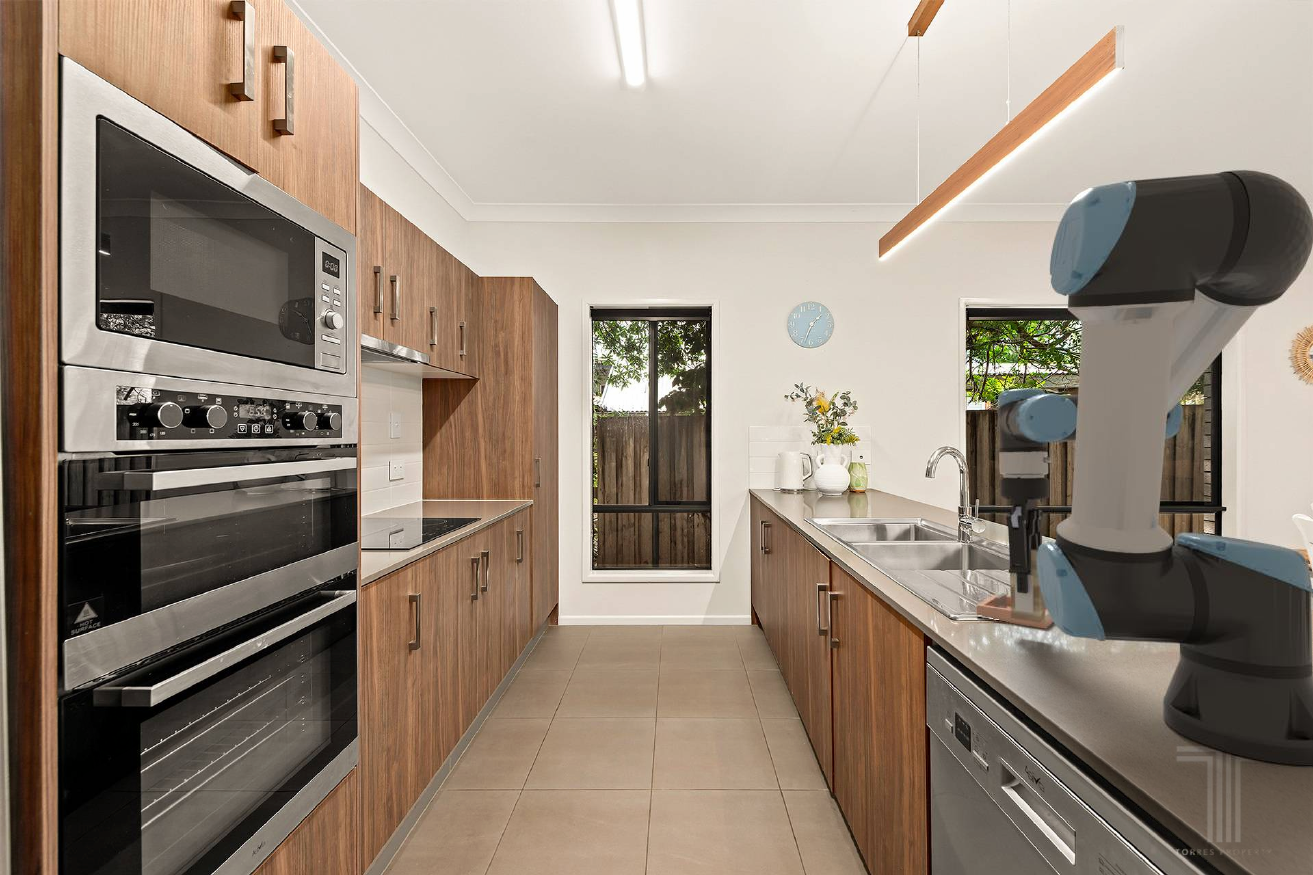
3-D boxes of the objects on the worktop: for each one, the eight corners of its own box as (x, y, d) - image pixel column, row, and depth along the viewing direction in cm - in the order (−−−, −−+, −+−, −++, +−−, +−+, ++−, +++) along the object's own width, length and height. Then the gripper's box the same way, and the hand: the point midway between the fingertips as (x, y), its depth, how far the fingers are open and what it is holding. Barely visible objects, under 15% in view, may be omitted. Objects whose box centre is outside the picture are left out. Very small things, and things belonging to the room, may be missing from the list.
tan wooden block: (1040, 622, 110) (1038, 552, 110) (1011, 617, 113) (1009, 550, 113) (1045, 618, 112) (1043, 550, 112) (1017, 614, 115) (1015, 547, 116)
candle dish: (1045, 628, 118) (1045, 609, 118) (976, 617, 126) (976, 599, 126) (1061, 615, 127) (1061, 597, 127) (996, 605, 135) (995, 588, 135)
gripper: (1035, 478, 105) (1039, 621, 104) (1059, 475, 117) (1064, 604, 116) (985, 477, 110) (989, 614, 109) (1014, 474, 122) (1018, 598, 121)
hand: (1028, 608), depth 112 cm, fingers closed on tan wooden block, 3 cm apart
